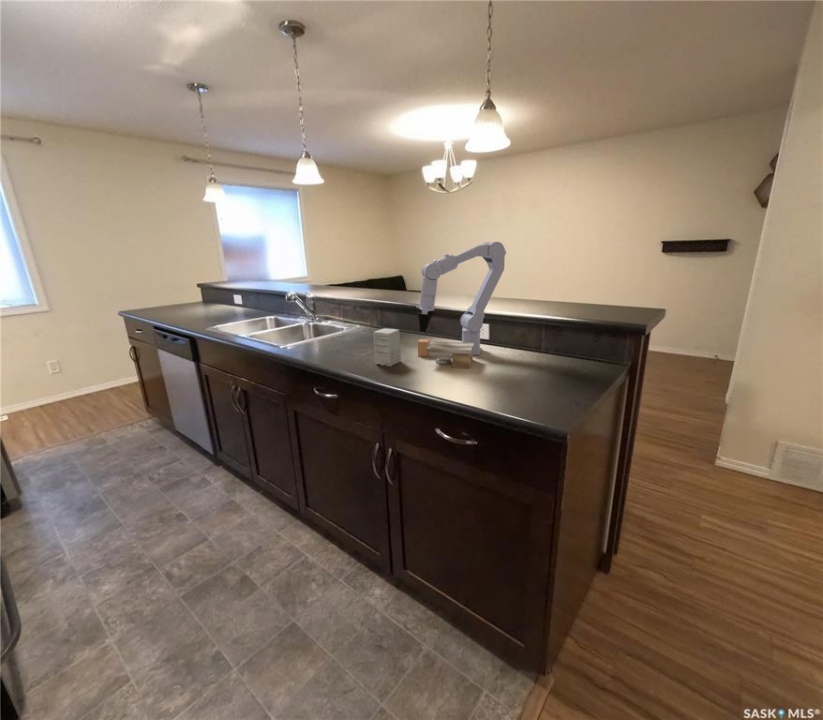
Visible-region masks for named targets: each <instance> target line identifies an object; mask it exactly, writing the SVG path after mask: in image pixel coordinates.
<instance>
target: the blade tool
mask: <svg viewBox="0 0 823 720" xmlns="http://www.w3.org/2000/svg"><path fill="white" fill-rule="evenodd" d="M430 344H431V341H430V339H425V338H423V339H421V338H420V339H419V340H417V356H418V357H450V358H452V353H439V352H426V349H427V348H428V346H429V345H430Z"/></svg>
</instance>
